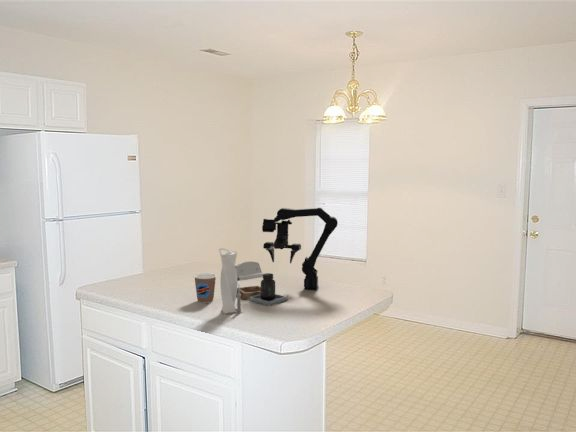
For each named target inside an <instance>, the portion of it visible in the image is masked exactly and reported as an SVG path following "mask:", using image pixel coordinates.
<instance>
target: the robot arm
mask: <svg viewBox="0 0 576 432" xmlns="http://www.w3.org/2000/svg"><path fill="white" fill-rule="evenodd" d="M301 217H319V218H320V219H321V220H322V221H323V222H324V224H325V225H324V228H323V231H322V233H321V235H320V237H319V239H318V240H317V242H316V244H315V246H314V248H313V250H312V252H311V254H310V256H308V257H307V256H305V258H304V261H303V262H302V263H301V266H302V267H301V271H302V273H303V274H304V275H305V276H304V279H303V289H304V290H310V291H311V290H312V291H315V290H316V291H317V290H318V289H319V288H320V287H319V276H318V270H317V269H316V268H315V266H316V263H317V259H318V257H319V256H320V254H321V252H322V250H323V249H324V246H325V244H326V243H327V241H328V239H329V238H330V235H331V234H332V233H333V232H334V231H335V229H336V228H337V227H338V224H339V223H338V219H337V218H336V217H334V216H330V214H329V213H327V212H326V211H325V210H324V209H323V208H322V207H317V208H316V207H314V208H312V207H311V208H298V209H295V208H287V207H281V208H279V209H278V210H277V213H276V216H275V217H274V219H272V218H271V219H270V218H263V220H262V226H261V231H262V233H274V232H275V231H276V236H275V237H276V238H275V240H274V242H273V241H266V242H264V243H263V245H262V246H263V249H265V250H266V251H267V252H268V253H269V255H270V258H271V262H272V263H275V250H277V249H278V250H279V249H280V250H284V249H290V257H289V263H290V264H292V262H293V259H294V257H295V255H296V253H297V252H299V251H300V250H302V244H301V243H291V244H289V225H292V224H293V221H291V220H290V219H293V218H301ZM280 221H281V222H280Z"/></svg>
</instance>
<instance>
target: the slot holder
mask: <svg viewBox="0 0 576 432" xmlns="http://www.w3.org/2000/svg"><path fill="white" fill-rule="evenodd" d="M238 288H240V294H241V296H240V298H241V299H243V300H245V301H246V300H250V297H252V296H256V295H260V294H261V285H252V286H251V285H249V286H238V287H237V294H238Z"/></svg>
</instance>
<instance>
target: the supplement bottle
mask: <svg viewBox="0 0 576 432" xmlns="http://www.w3.org/2000/svg"><path fill="white" fill-rule="evenodd" d="M260 287H261V300H266V301H272V300H275V294H276V280H274V274H273V273H269V272H268V273H263V277H262V279H261V281H260Z"/></svg>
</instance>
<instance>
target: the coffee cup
mask: <svg viewBox="0 0 576 432" xmlns="http://www.w3.org/2000/svg"><path fill="white" fill-rule="evenodd" d="M193 278H194V283H195V292H196V298H197V302H198V303H200V302H201V304H208V303H213V301H214V298H215V287H216V279H217V274H214V273H198V274H195V275H193Z"/></svg>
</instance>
